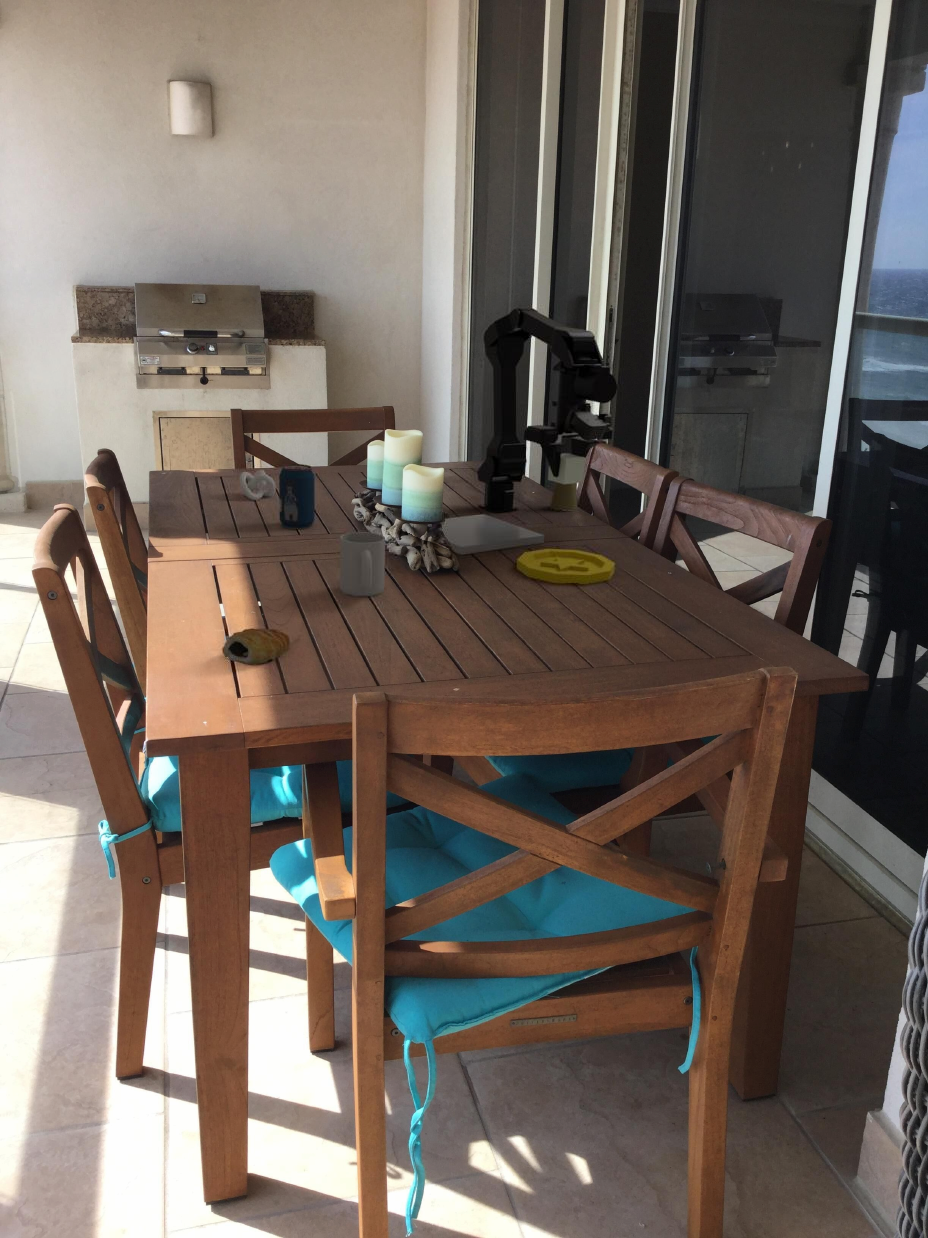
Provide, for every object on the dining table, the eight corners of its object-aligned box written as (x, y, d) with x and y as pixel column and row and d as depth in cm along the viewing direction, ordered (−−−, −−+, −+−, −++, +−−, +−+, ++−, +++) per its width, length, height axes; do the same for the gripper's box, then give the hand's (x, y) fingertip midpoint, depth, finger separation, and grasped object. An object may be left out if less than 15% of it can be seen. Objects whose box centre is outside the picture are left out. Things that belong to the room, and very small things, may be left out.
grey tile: (403, 531, 210) (403, 523, 210) (483, 520, 221) (483, 514, 221) (460, 554, 195) (461, 546, 194) (543, 542, 206) (544, 535, 206)
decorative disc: (547, 554, 200) (548, 544, 199) (630, 572, 190) (631, 561, 189) (498, 572, 186) (499, 561, 186) (585, 592, 177) (586, 580, 176)
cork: (576, 506, 239) (580, 458, 236) (576, 512, 233) (580, 463, 230) (550, 504, 240) (553, 456, 236) (549, 510, 234) (553, 461, 230)
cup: (381, 583, 175) (382, 531, 173) (389, 601, 166) (390, 547, 163) (337, 584, 174) (338, 532, 171) (344, 603, 165) (344, 548, 162)
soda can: (311, 521, 215) (311, 463, 211) (317, 529, 209) (317, 469, 205) (277, 522, 213) (276, 463, 209) (282, 530, 206) (281, 470, 203)
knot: (234, 494, 236) (233, 468, 234) (269, 492, 239) (268, 467, 237) (242, 501, 229) (241, 475, 228) (278, 499, 233) (277, 473, 231)
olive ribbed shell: (265, 640, 148) (265, 614, 147) (302, 650, 145) (302, 624, 143) (218, 658, 140) (217, 632, 139) (256, 670, 137) (256, 643, 136)
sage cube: (547, 479, 211) (549, 454, 209) (566, 477, 214) (568, 453, 212) (564, 484, 207) (566, 459, 205) (583, 482, 210) (585, 457, 208)
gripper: (562, 403, 194) (556, 487, 199) (635, 400, 204) (627, 479, 209) (524, 396, 202) (519, 476, 207) (596, 393, 212) (590, 469, 217)
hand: (565, 475), depth 210 cm, fingers closed on sage cube, 5 cm apart
